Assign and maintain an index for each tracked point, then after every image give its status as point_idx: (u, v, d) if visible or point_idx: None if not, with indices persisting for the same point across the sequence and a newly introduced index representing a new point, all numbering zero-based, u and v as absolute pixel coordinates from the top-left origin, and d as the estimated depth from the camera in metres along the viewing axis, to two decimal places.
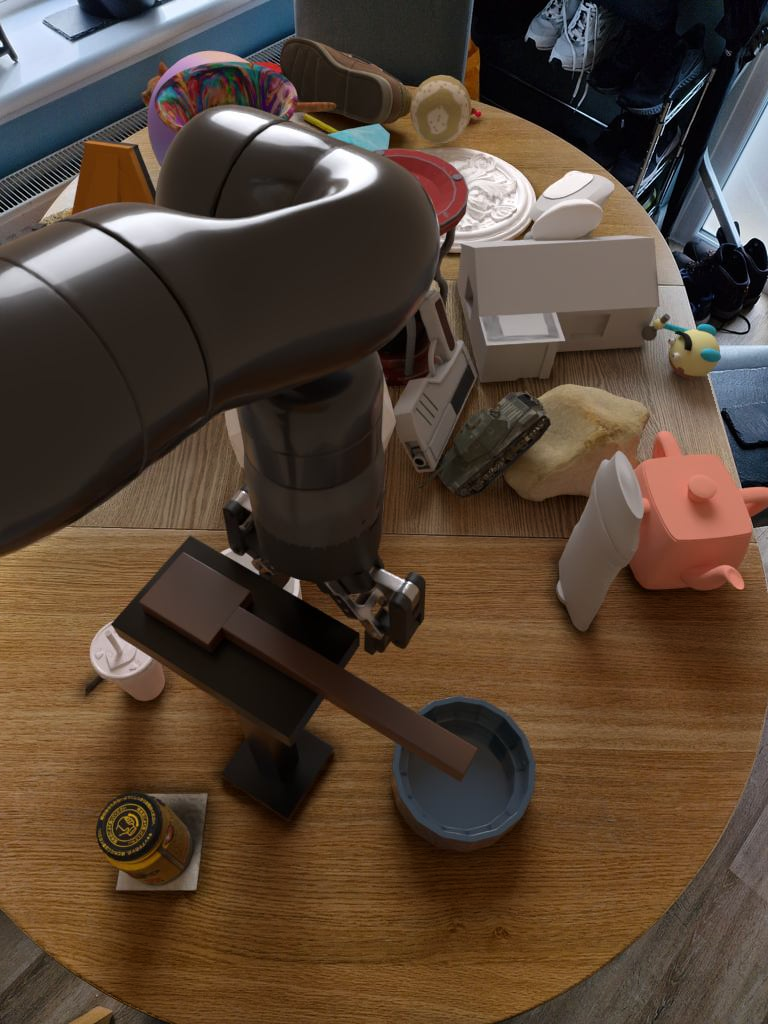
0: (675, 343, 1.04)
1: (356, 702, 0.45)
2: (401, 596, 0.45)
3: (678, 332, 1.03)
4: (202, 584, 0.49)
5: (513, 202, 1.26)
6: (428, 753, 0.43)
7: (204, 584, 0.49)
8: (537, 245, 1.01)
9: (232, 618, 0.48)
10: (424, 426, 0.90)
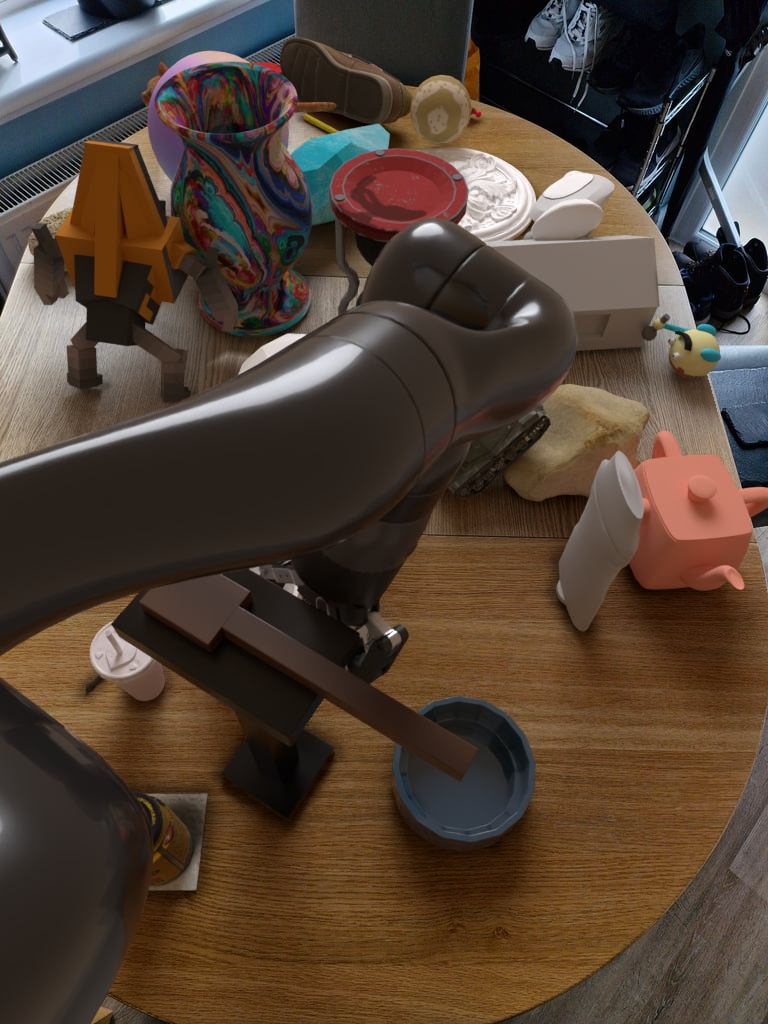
0: (675, 343, 1.04)
1: (356, 702, 0.45)
2: (386, 640, 0.51)
3: (678, 332, 1.03)
4: (202, 584, 0.49)
5: (513, 202, 1.26)
6: (428, 753, 0.43)
7: (204, 584, 0.49)
8: (537, 245, 1.01)
9: (232, 618, 0.48)
10: None
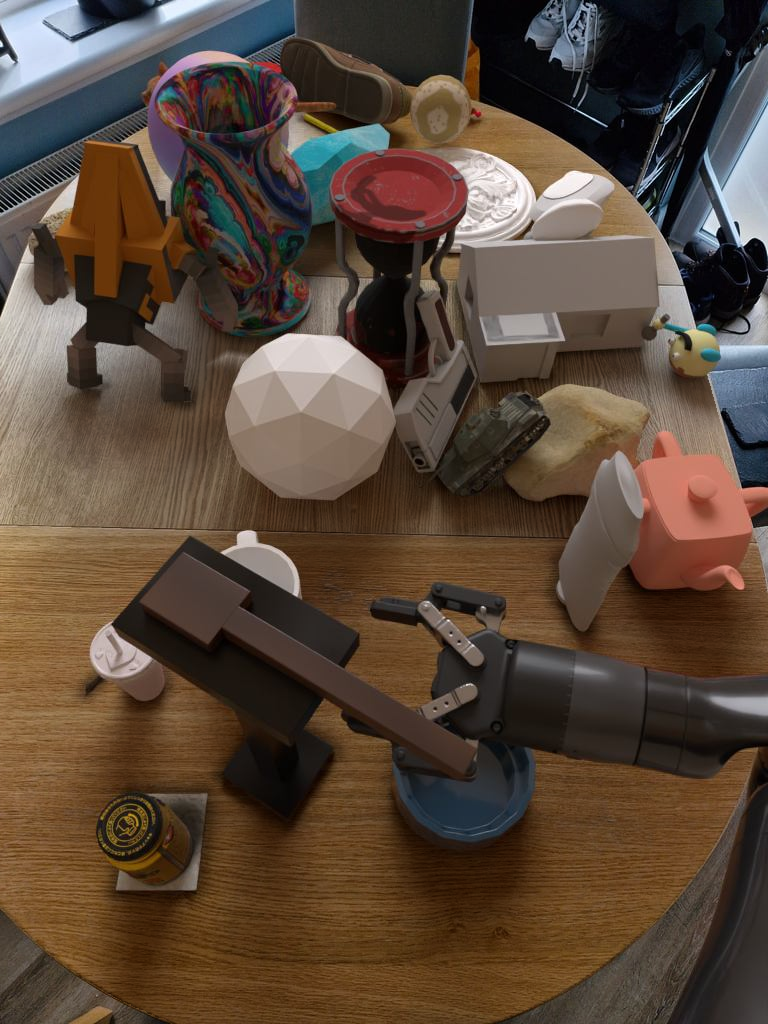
0: (675, 343, 1.04)
1: (356, 702, 0.45)
2: (476, 768, 0.53)
3: (678, 332, 1.03)
4: (202, 584, 0.49)
5: (513, 202, 1.26)
6: (428, 753, 0.43)
7: (204, 584, 0.49)
8: (537, 245, 1.01)
9: (232, 618, 0.48)
10: (424, 426, 0.90)
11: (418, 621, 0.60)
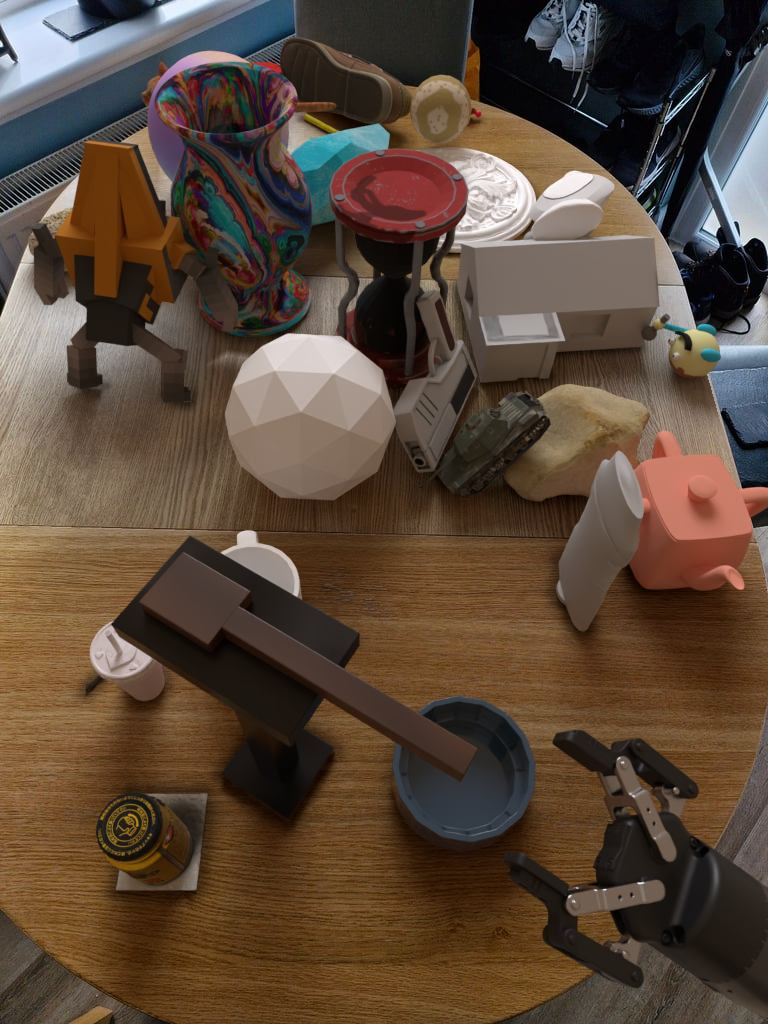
0: (675, 343, 1.04)
1: (356, 702, 0.45)
2: None
3: (678, 332, 1.03)
4: (202, 584, 0.49)
5: (513, 202, 1.26)
6: (428, 753, 0.43)
7: (204, 584, 0.49)
8: (537, 245, 1.01)
9: (232, 618, 0.48)
10: (424, 426, 0.90)
11: None
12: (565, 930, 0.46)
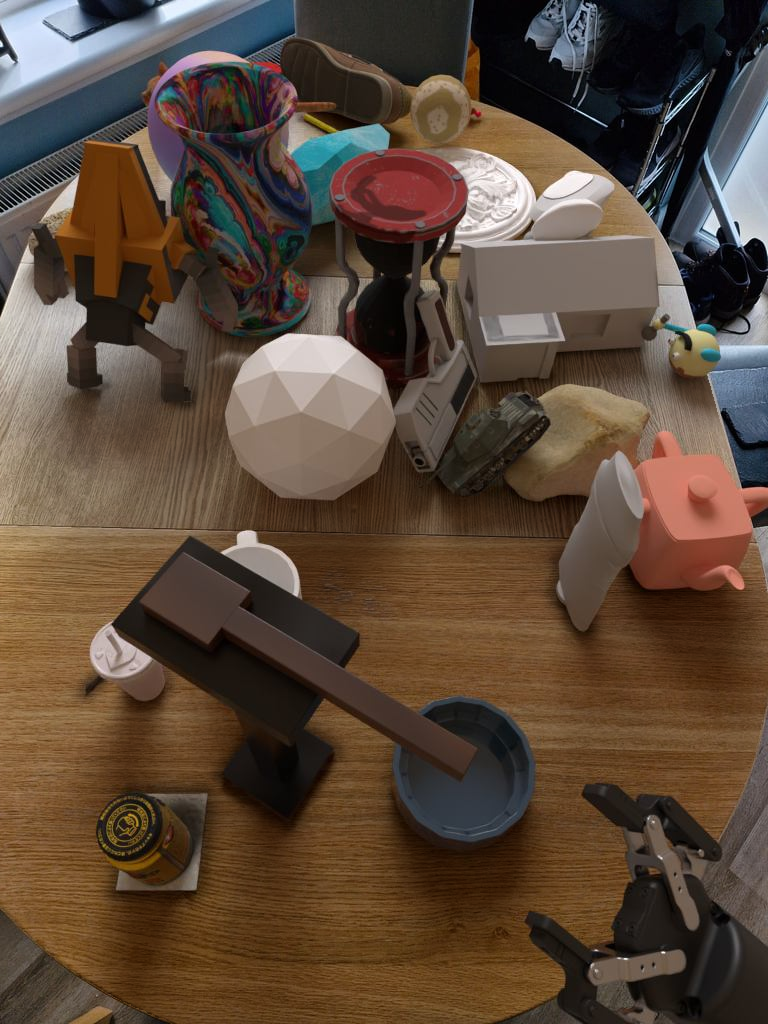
0: (675, 343, 1.04)
1: (356, 702, 0.45)
2: None
3: (678, 332, 1.03)
4: (202, 584, 0.49)
5: (513, 202, 1.26)
6: (428, 753, 0.43)
7: (204, 584, 0.49)
8: (537, 245, 1.01)
9: (232, 618, 0.48)
10: (424, 426, 0.90)
11: None
12: (585, 1000, 0.43)
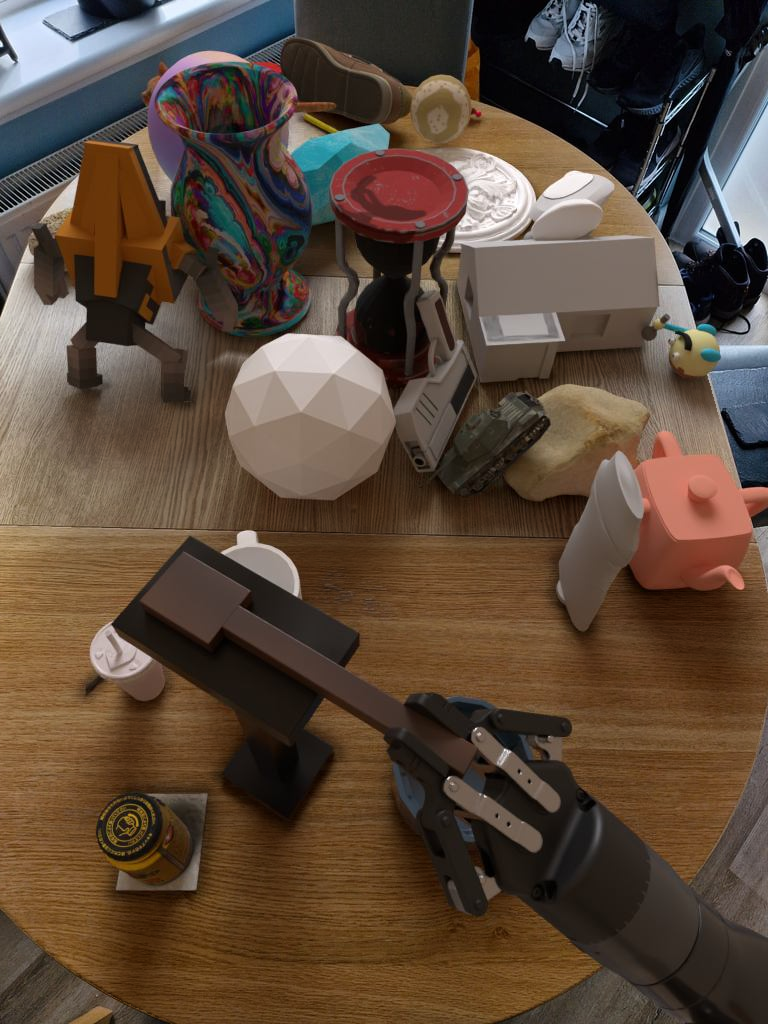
0: (675, 343, 1.04)
1: (356, 701, 0.45)
2: None
3: (678, 332, 1.03)
4: (202, 583, 0.49)
5: (513, 202, 1.26)
6: None
7: (204, 583, 0.49)
8: (537, 245, 1.01)
9: (233, 617, 0.48)
10: (424, 426, 0.90)
11: None
12: (445, 810, 0.42)
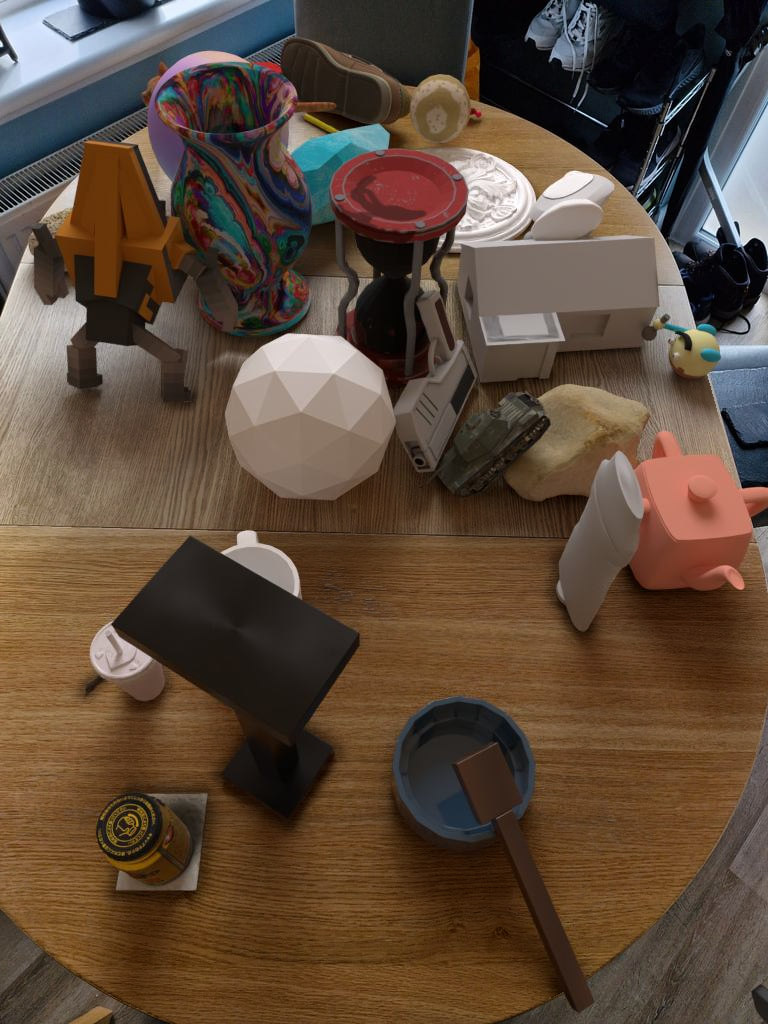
0: (675, 343, 1.04)
1: (546, 926, 0.65)
2: None
3: (678, 332, 1.03)
4: (498, 776, 0.67)
5: (513, 202, 1.26)
6: (567, 986, 0.64)
7: (499, 777, 0.67)
8: (537, 245, 1.01)
9: (505, 816, 0.66)
10: (424, 426, 0.90)
11: None
12: None
